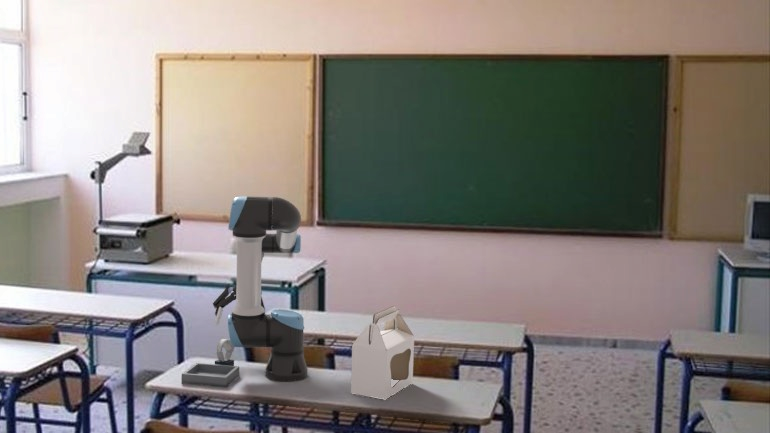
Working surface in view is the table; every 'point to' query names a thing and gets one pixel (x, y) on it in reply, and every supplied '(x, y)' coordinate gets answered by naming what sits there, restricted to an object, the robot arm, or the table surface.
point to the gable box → (382, 356)
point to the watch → (229, 350)
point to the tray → (210, 375)
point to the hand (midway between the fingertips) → (234, 324)
